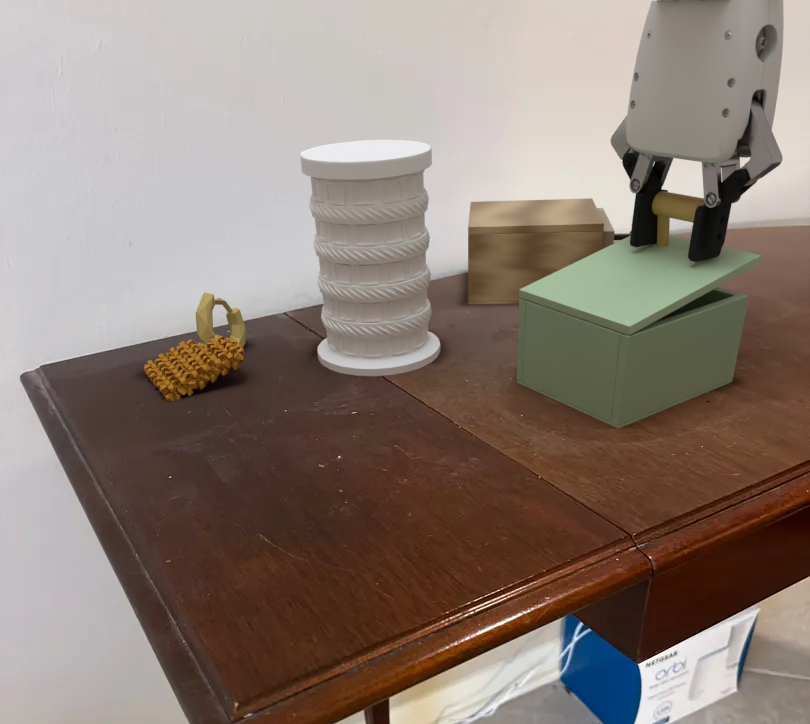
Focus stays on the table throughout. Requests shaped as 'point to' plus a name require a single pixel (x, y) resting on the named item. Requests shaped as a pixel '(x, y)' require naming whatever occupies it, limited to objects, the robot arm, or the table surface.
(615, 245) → the lid
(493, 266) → the cabinet
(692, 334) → the chest
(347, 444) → the table surface
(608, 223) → the drawer
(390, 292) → the decorative container
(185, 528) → the table surface
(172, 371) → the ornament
